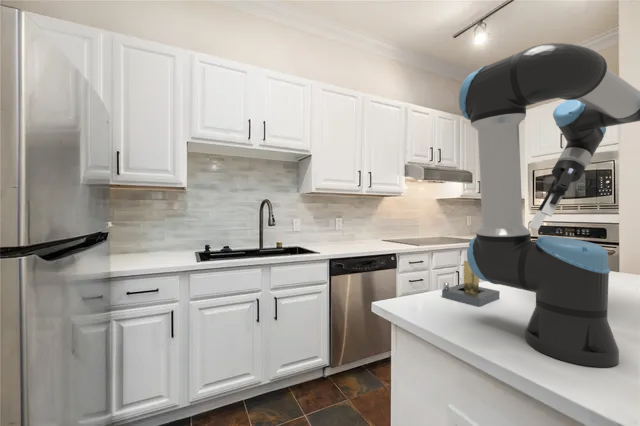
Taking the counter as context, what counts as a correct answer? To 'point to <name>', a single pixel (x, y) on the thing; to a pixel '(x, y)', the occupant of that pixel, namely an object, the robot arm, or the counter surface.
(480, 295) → the jig
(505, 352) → the counter surface
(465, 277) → the bushing
